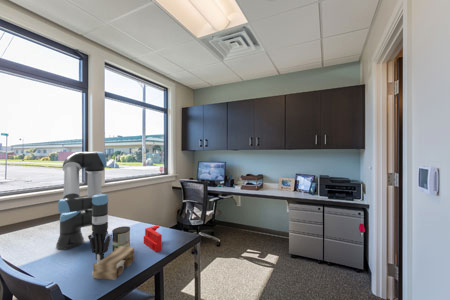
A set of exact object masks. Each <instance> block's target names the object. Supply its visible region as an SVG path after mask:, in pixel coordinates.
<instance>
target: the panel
mask: <svg viewBox="0 0 450 300" xmlns="http://www.w3.org/2000/svg"><path fill="white" fill-rule="evenodd" d="M125 261H126V260H121V261H120V262H119V263H118V264H117V268H118V267H119V266H123V269H125V267H124V262H125ZM91 276H92V277H93V270H92V271H91Z"/></svg>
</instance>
